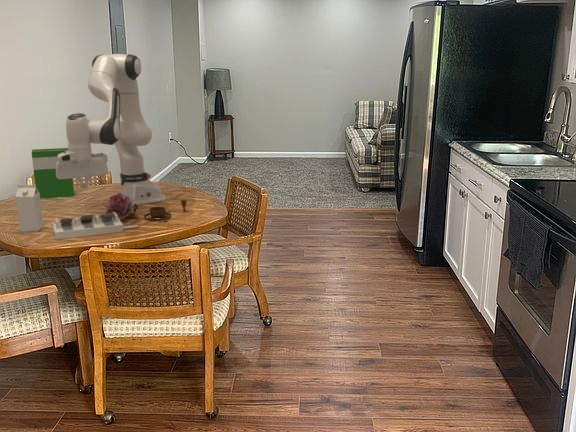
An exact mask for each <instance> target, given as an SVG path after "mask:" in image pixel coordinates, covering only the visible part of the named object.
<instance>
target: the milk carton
mask: <svg viewBox="0 0 576 432" xmlns="http://www.w3.org/2000/svg"><path fill="white" fill-rule="evenodd" d="M15 202H16V209H17V219H18V224H19V225H18V226H19V232H21V233H28V232H29V233H30V232H31V233H32V232H35V233H36V232H39V231H40V230H41V229H42V228H44V219H43V218H44V217H43V210H42V201H41V199H40V192H39V191H38V190H37V188H36V185H35V184H17V189H16V193H15Z"/></svg>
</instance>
